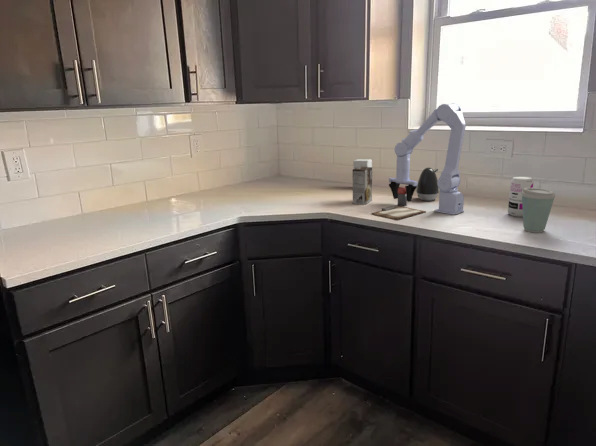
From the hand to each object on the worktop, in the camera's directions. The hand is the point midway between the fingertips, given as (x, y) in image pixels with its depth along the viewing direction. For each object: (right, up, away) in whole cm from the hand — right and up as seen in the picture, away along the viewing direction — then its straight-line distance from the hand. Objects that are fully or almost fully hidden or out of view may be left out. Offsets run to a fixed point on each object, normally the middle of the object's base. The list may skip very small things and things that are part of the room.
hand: (402, 199), depth 211 cm
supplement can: (+42, -7, -22) cm, 48 cm away
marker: (0, -2, +1) cm, 2 cm away
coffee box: (-17, -1, +9) cm, 19 cm away
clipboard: (-5, -6, -14) cm, 16 cm away
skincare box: (-12, +8, +41) cm, 43 cm away
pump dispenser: (+14, 0, +10) cm, 17 cm away
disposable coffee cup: (+37, -13, -44) cm, 59 cm away
